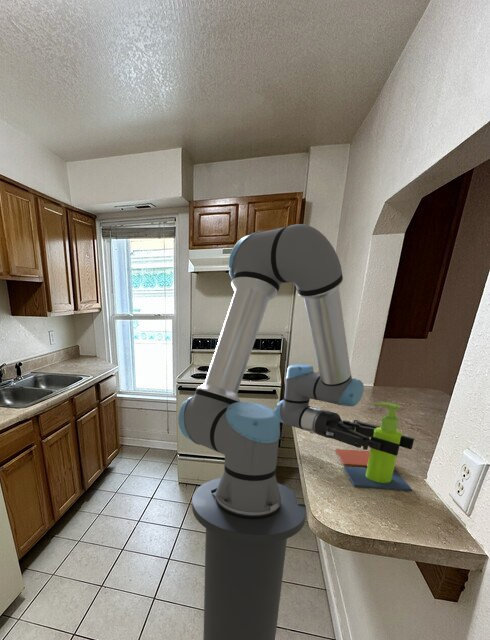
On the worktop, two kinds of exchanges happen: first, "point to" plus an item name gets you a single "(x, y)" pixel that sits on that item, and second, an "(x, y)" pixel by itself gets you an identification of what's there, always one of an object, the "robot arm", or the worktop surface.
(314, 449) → the worktop surface
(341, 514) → the worktop surface
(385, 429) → the soap dispenser
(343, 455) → the terracotta mat
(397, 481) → the slate mat
